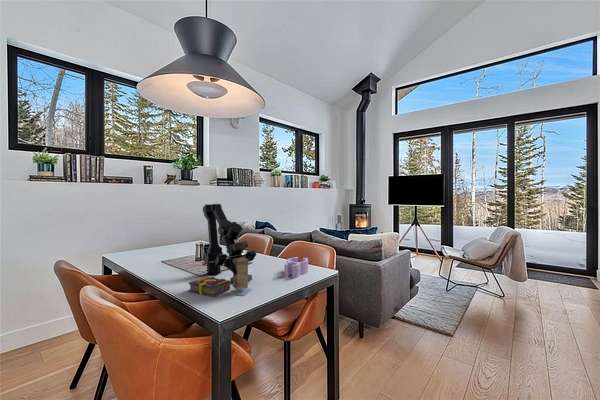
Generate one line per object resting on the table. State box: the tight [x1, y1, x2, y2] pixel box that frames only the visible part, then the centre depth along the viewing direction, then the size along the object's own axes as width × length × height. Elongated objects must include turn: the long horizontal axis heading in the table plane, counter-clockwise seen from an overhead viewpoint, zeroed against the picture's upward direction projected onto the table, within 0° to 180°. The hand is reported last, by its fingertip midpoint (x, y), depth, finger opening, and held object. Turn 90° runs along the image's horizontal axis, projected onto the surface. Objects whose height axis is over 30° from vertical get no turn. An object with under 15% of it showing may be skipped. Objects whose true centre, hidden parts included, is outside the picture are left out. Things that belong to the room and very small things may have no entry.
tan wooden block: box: [232, 257, 249, 290], centre depth 124 cm, size 5×5×13 cm
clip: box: [284, 256, 309, 279], centre depth 156 cm, size 20×12×7 cm, turn 161°
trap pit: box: [230, 274, 253, 284], centre depth 140 cm, size 8×8×2 cm
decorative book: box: [188, 276, 231, 298], centre depth 126 cm, size 11×16×5 cm
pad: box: [227, 287, 253, 297], centre depth 124 cm, size 8×8×1 cm
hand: (241, 273), depth 123 cm, fingers closed on tan wooden block, 5 cm apart
